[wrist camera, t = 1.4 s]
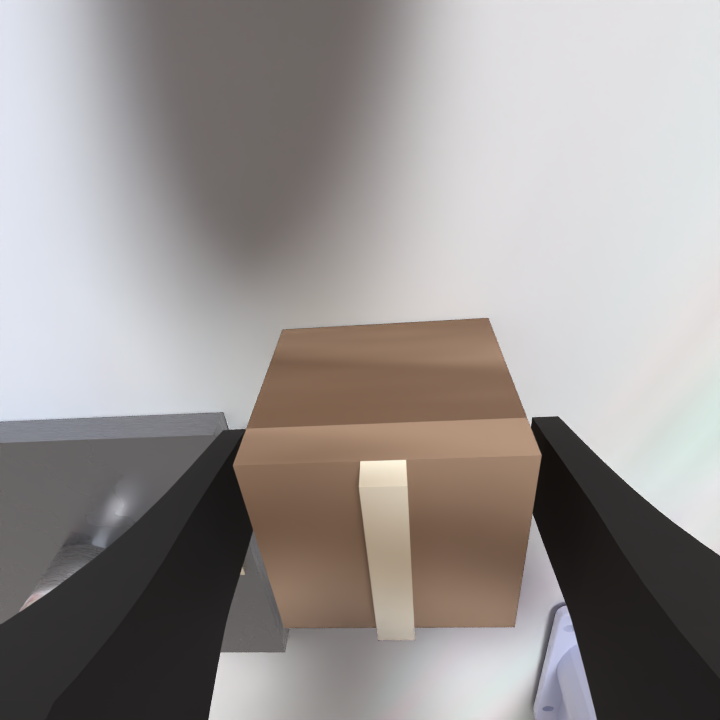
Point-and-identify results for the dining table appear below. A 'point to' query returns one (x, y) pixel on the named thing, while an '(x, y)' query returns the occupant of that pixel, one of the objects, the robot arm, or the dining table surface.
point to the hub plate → (107, 507)
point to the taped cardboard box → (391, 478)
